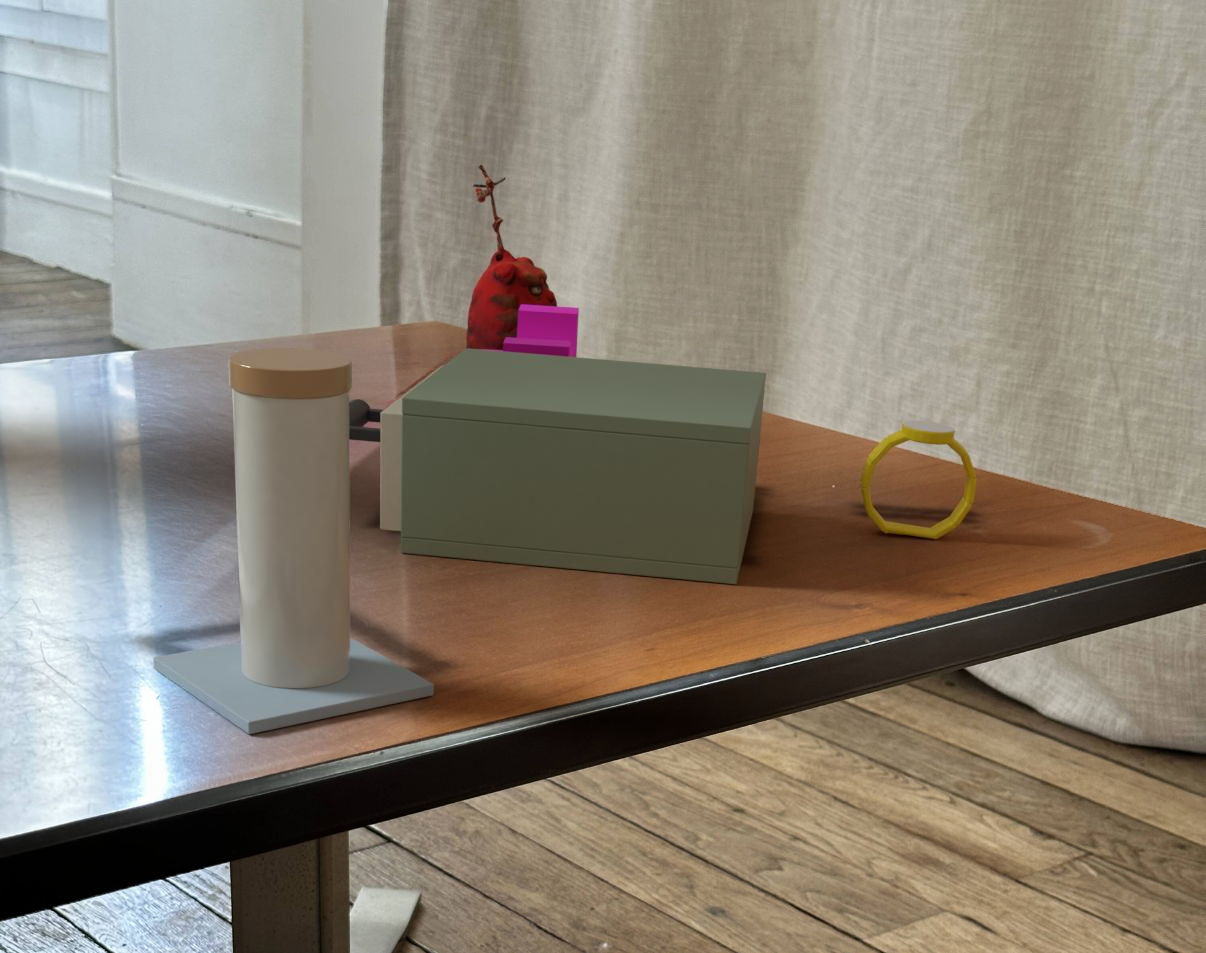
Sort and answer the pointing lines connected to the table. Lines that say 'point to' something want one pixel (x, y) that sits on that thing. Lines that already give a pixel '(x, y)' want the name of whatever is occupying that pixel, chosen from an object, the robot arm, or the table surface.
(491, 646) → the table surface
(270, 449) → the spice jar
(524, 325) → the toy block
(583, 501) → the cabinet
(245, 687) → the mat
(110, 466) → the table surface
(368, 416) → the drawer
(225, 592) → the table surface
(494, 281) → the red clay folk toy
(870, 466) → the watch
